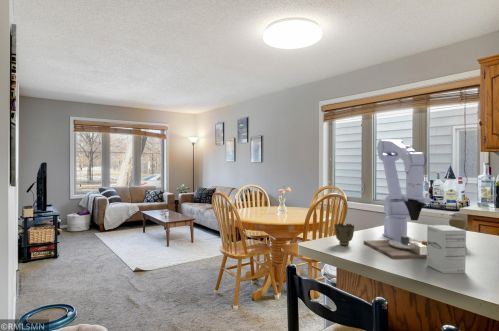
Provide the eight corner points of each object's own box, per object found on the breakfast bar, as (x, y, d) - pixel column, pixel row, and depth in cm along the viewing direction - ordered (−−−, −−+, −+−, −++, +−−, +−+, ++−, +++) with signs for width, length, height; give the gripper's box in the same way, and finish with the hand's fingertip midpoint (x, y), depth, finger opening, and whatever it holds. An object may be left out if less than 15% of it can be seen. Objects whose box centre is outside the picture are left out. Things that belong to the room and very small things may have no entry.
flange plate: (383, 242, 119) (383, 234, 119) (410, 241, 119) (410, 234, 119) (407, 254, 102) (407, 246, 102) (439, 254, 103) (439, 246, 103)
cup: (355, 243, 121) (355, 223, 121) (353, 248, 114) (353, 227, 114) (335, 241, 124) (336, 222, 124) (332, 246, 117) (332, 225, 117)
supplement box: (425, 265, 96) (426, 225, 96) (448, 264, 96) (448, 224, 96) (442, 273, 88) (443, 230, 88) (466, 273, 89) (467, 229, 89)
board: (363, 243, 122) (363, 230, 122) (414, 241, 125) (414, 229, 125) (393, 258, 102) (393, 243, 102) (453, 256, 105) (453, 242, 105)
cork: (469, 249, 113) (470, 220, 113) (451, 248, 115) (451, 219, 115) (461, 245, 119) (462, 217, 119) (444, 244, 121) (445, 216, 121)
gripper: (393, 183, 122) (393, 216, 122) (417, 185, 108) (417, 224, 108) (409, 182, 123) (409, 216, 123) (435, 185, 109) (435, 223, 109)
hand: (414, 220), depth 116 cm, fingers closed
